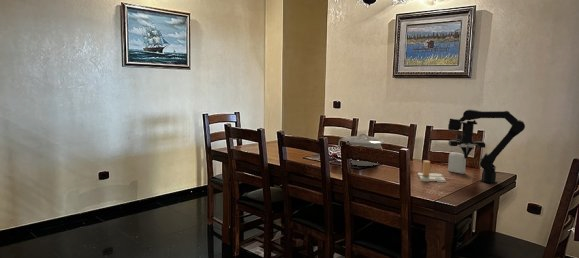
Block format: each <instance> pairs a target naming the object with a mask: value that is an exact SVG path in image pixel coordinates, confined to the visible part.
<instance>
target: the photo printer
mask: <svg viewBox="0 0 579 258" xmlns="http://www.w3.org/2000/svg"><path fill="white" fill-rule="evenodd" d="M466 161H467V159H465V158H464V154H463V152H458V151H457V152H456V151H454V152H449V155H448V165H447V166H448V167H447V171H448V172H451V173H457V174H461V175H464V174H465V173H466V163H467V162H466Z"/></svg>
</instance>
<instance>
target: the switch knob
mask: <svg viewBox="0 0 579 258" xmlns="http://www.w3.org/2000/svg"><path fill="white" fill-rule="evenodd" d="M430 168H431V161H430V160H426V159H425V160H424V159H423V163H422V173H423V175H424V176H429V173H430V172H431V171H430V170H431V169H430Z"/></svg>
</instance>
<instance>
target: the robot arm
mask: <svg viewBox="0 0 579 258" xmlns="http://www.w3.org/2000/svg"><path fill="white" fill-rule="evenodd" d="M479 119H505V121H506V122H508V123H509V124H510V125H511V126H510V127H509V129H508V132H507V133H506V134H505V135H504V137H503V138H502V139H501V140H500V141H499V142H498V143H497V144H496V146H495V147H494V148H493V149H492V151H490V152H489V153H487V152H485V153H484V155H483V156H482V157H481V158H480V161H479V162H480V163H479V164H480V167H481V168H482V169H483V170H482V173H481V179H480V180H479V181H480V182H482V183H486V184H498V181H496V176H497V171H496V170H497V169H496V168H497V167H496V165H494V162H495V161H496V158H497V157H498V156H499V155H500V154H501V153H502V151H503V150H504V149H505V148H506V147H507V146H508V144H510V142H511V141H512V140H513V139H514V138H515V137H516V136H518V135H519V134H521V133H522V132H523V131H524V130H525V128H526V125H525V122H524V121H523V120H521V119H517V117H516V116H514V115H513V114H511V112H510V111H508V110H503V111H501V110H498V111H497V110H495V111H493V110H491V111H487V110H486V111H481V110H477V109H467V110H465V111H464V112H463V114H462V117H460V118H459V119H457V118H449V121H448V131H453V132H455V131H456V132H460V130H462V131H461V133H460V134H459V133H457V134H456V136H455V139H450V140H448V142H447V143H448V146H450V147H457V146H458V147H459V148H460V149H461V151H462V154H464V158H465V159H466V160H467V158H468V156H469V155H470V153H471V151H472V150H473V149H474V150H475V147H476V146H477V147H478V148H481V149H483V148H484V149H485V148H486V143H485V142H484V141H482V140H481V141H479V140H476V141H475V142H474V141H473V137H474V129H475V127H474V125H478V122H477V121H476V120H479Z"/></svg>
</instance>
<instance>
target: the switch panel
mask: <svg viewBox="0 0 579 258" xmlns="http://www.w3.org/2000/svg"><path fill="white" fill-rule="evenodd" d="M417 177H418V179H419V180H420V181H421V182H429V181H437V182H436V183H446V179H445V177H444V176H443V174H441V173H433V172H431V173H430V172H429V176H424V175H423V172H417Z"/></svg>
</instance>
